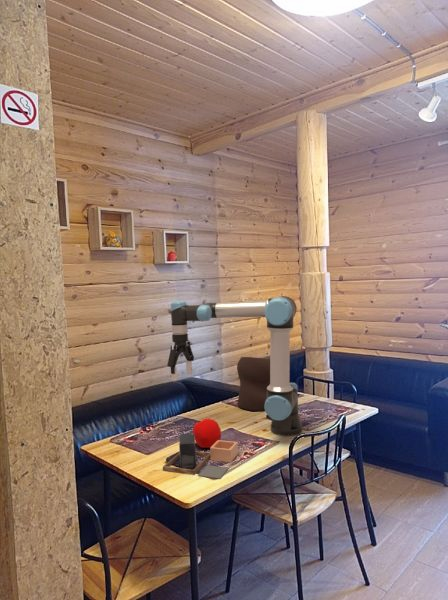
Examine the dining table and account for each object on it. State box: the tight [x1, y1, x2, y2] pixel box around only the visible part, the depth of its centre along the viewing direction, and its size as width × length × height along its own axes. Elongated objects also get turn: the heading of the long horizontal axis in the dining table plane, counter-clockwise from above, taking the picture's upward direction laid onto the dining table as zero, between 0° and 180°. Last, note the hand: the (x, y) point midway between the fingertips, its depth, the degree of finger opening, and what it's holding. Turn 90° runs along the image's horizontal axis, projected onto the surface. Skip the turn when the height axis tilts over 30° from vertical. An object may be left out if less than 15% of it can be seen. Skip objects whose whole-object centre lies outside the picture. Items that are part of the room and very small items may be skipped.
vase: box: [236, 356, 270, 412], centre depth 254 cm, size 27×27×30 cm
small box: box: [178, 432, 197, 470], centre depth 178 cm, size 11×6×10 cm, turn 5°
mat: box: [197, 464, 229, 480], centre depth 170 cm, size 9×9×1 cm
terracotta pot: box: [209, 439, 239, 463], centre depth 184 cm, size 9×9×5 cm
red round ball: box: [192, 418, 222, 449], centre depth 197 cm, size 13×13×13 cm
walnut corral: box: [162, 450, 211, 476], centre depth 179 cm, size 14×18×2 cm
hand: (182, 377), depth 213 cm, fingers open, 13 cm apart
